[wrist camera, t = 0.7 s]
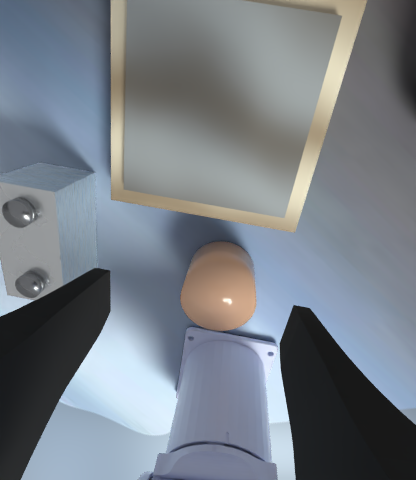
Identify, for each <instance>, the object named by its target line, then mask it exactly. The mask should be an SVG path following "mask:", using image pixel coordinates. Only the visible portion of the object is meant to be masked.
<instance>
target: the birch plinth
mask: <svg viewBox="0 0 416 480" xmlns="http://www.w3.org/2000/svg"><path fill="white" fill-rule="evenodd" d="M366 2H367V0H111V200H116V201H122V202H127V203H133V204H138V205H144V206H149V207H155V208H161V209H166V210H172V211H177V212H183V213H188V214H194V215H200V216H205V217H211V218H216V219H222V220H228V221H233V222H239V223H244V224H250V225H255V226H261V227H267V228H272V229H278V230H283V231H289V232H294V233H295V231H296V227H297V224H298V221H299V218H300V214H301V211H302V208H303V205H304V202H305V198H306V195H307V192H308V189H309V186H310V182H311V179H312V176H313V173H314V169H315V166H316V163H317V160H318V157H319V153H320V150H321V147H322V144H323V141H324V137H325V134H326V131H327V128H328V125H329V121H330V118H331V115H332V112H333V108H334V105H335V102H336V99H337V96H338V92H339V89H340V86H341V83H342V80H343V76H344V73H345V70H346V67H347V63H348V60H349V57H350V54H351V51H352V47H353V44H354V41H355V38H356V35H357V31H358V28H359V25H360V22H361V19H362V15H363V12H364V9H365V6H366Z"/></svg>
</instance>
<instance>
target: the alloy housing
mask: <svg viewBox="0 0 416 480" xmlns="http://www.w3.org/2000/svg"><path fill="white" fill-rule="evenodd" d="M0 259H1V264H2V270H3V275H4V280H5V285H6V290H7V295H10V296H15V297H20V298H26V299H31V300H37V299H39V298H41V297H43V296H45V295H47V294H49V293H51V292H52V291H54V290H56V289H58V288H60V287H61V286H63V285H65V284H67V283H69V282H70V281H72V280H74V279H76V278H77V277H79V276H81V275H83V274H84V273H86V272H88V271H90V270H92V269H94V268H97V224H96V176H95V172H91V171H86V170H80V169H75V168H69V167H64V166H58V165H53V164H47V163H42V162H39V163H36V164H33V165H29V166H26V167H23V168H20V169H17V170H13V171H10V172H7V173H4V174H0Z"/></svg>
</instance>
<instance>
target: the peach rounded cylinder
mask: <svg viewBox="0 0 416 480" xmlns="http://www.w3.org/2000/svg"><path fill="white" fill-rule="evenodd" d="M180 300H181V305H182V308H183V310H184V312H185V314H186V315H187V316H188V317H189V318H190V319H191V320H192V321H193V322H194V323H196V324H197V325H199V326H201V327H203V328H206V329H210V330H215V331H227V330H232V329H235V328H238V327H240V326H242V325H243V324H245V323H246V322H247V321H248V320H249V319H250V318H251V317H252V315H253V313H254V311H255V308H256V289H255V273H254V264H253V261H252V259H251V257H250V256H249V254H248V253H247V252H246V251H245V250H244V249H243V248H241V247H240V246H238V245H236V244H233V243H230V242H224V241H217V242H211V243H208V244H206V245H204V246H202V247H201V248H199V249H198V250H197V251H196V253H195V254H194V255H193V257H192V260H191V262H190V266H189V269H188V272H187V275H186V278H185V281H184V284H183V287H182V290H181V295H180Z"/></svg>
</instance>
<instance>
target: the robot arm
mask: <svg viewBox="0 0 416 480" xmlns="http://www.w3.org/2000/svg"><path fill="white" fill-rule="evenodd" d="M109 313H110V271H109V270H104V269H99V268H94V269H92V270H90V271H88V272H86V273H84V274H83V275H81V276H79V277H77V278H76V279H74V280H72V281H70V282H69V283H67V284H65V285H63V286H61V287H60V288H58V289H56V290H54V291H52V292H51V293H49V294H47V295H45V296H43V297H41V298H39V299H37V300H35V301H33V302H31V303H29V304H27V305H25V306H23V307H21V308H19V309H17V310H15V311H12V312H10V313H8V314H6V315H3V316H1V317H0V480H21V478H22V475H23V473H24V471H25V469H26V467H27V464H28V462H29V460H30V458H31V456H32V454H33V452H34V450H35V448H36V446H37V443H38V441H39V439H40V437H41V435H42V433H43V431H44V429H45V427H46V425H47V423H48V421H49V419H50V417H51V415H52V413H53V411H54V409H55V407H56V405H57V403H58V401H59V399H60V398H61V396H62V394H63V392H64V391H65V389H66V387H67V385H68V384H69V382H70V381H71V379H72V378H73V376H74V374H75V373H76V371H77V370H78V368H79V367H80V365H81V363H82V362H83V360H84V359H85V357H86V355H87V354H88V352H89V351H90V349H91V348H92V346H93V344H94V343H95V341H96V340H97V338H98V336H99V335H100V333H101V331H102V329H103V326H104V324H105V322H106V320H107V318H108V316H109ZM189 336H192V337H189ZM269 352H272V353H269ZM277 352H278V346H277V344H276V343H273V342H268V341H263V340H257V339H252V338H247V337H242V336H237V335H231V334H226V333H221V332H216V331H211V330H205V329H200V328H195V327H189V328H187V330H186V335H185V342H184V348H183V355H182V361H181V368H180V375H179V381H178V388H177V394H176V398H177V399H178V400H177V405H176V409H175V414H174V418H173V423H172V427H171V432H170V437H169V441H168V446H167V450H166V453H159V454H158V457H157V461H156V465H155V469H154V472H144V473H143V474H142V475H141V476H140V477H139V479H138V480H278V479H277V467H276V464H275V463H272V456H271V443H270V431H269V418H268V405H267V393H266V383H267V380H268V377H269V374H270V371H271V369H272V366H273V363H274V360H275V357H276V354H277ZM280 364H281V374H282V380H283V386H284V392H285V397H286V403H287V409H288V415H289V421H290V426H291V433H292V440H293V450H294V463H295V475H296V480H416V425H415V424H414V423H413V422H412V421H411V420H409V419H408V418H407V417H406V416H405V415H404V414H403V413H402V412H400V411H399V410H398V409H397V408H396V407H395V406H394V405H393V404H392V403H391V402H390V401H389V400H388V399H387V398H386V397H385V396H384V395H383V394H382V393H381V392H380V391H379V390H378V389H377V388H376V387H375V386H374V385H373V384H372V383H371V382H370V381H369V380H368V379H367V378H366V377H365V375H364V374H363V373H362V372H361V371H360V370H359V369H358V368H357V366H356V365H355V364H354V363H353V362H352V361H351V360H350V358H349V357H348V356H347V355H346V354H345V352H344V351H343V350H342V349H341V348H340V346H339V345H338V344H337V343H336V341H335V340H334V339H333V338H332V336H331V335H330V334H329V332H328V331H327V330H326V329H325V327H324V326H323V325H322V323H321V322H320V321H319V319H318V318H317V317H316V316H315V314H314V313H313V312H312V310H311V309H310V308H306V307H301V306H295V305H294V306H293V309H292V311H291V314H290V317H289V320H288V322H287V325H286V328H285V330H284V333H283V336H282V339H281V341H280Z"/></svg>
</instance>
